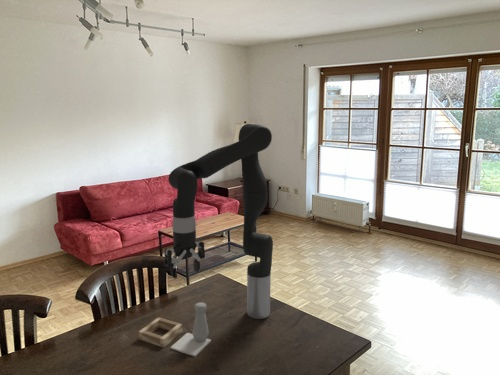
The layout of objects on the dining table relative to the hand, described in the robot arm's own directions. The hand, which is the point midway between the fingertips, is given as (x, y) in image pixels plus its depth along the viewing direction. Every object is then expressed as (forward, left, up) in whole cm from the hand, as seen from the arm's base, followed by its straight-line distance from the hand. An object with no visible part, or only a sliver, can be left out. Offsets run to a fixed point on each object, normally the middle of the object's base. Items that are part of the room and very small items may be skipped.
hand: (185, 274), depth 135 cm
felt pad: (+1, +2, -25) cm, 26 cm away
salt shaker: (-2, +4, -25) cm, 25 cm away
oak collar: (+1, -11, -25) cm, 28 cm away
